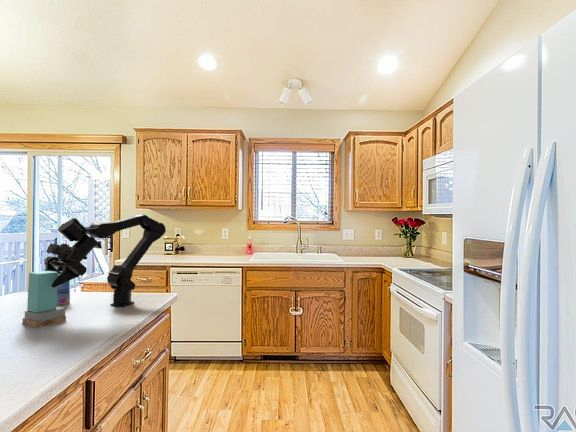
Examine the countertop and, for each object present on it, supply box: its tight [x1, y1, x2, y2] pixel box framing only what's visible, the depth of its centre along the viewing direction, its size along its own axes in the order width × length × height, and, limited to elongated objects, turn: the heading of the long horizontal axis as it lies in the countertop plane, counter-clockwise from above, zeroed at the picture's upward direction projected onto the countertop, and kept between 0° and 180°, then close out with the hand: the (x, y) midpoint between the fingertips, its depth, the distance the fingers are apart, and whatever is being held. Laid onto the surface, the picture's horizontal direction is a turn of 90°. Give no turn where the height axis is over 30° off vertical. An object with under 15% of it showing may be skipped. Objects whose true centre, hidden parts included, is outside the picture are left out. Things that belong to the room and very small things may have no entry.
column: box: [26, 270, 58, 313], centre depth 113 cm, size 6×6×12 cm
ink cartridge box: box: [57, 274, 71, 306], centre depth 138 cm, size 10×6×14 cm, turn 54°
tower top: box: [24, 306, 66, 322], centre depth 113 cm, size 8×8×2 cm
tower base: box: [22, 315, 67, 329], centre depth 113 cm, size 9×9×2 cm
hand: (45, 285), depth 113 cm, fingers open, 9 cm apart
